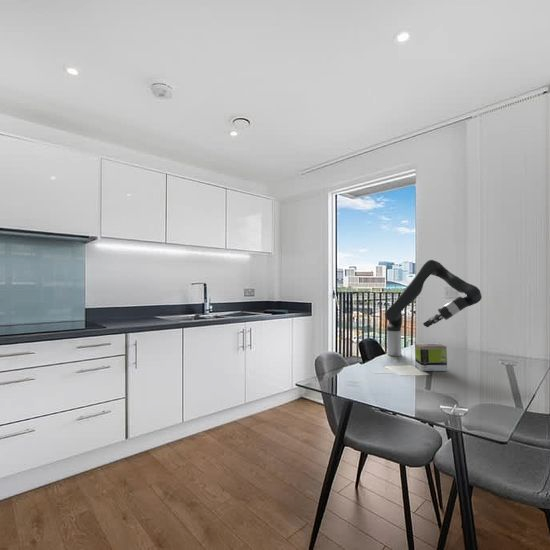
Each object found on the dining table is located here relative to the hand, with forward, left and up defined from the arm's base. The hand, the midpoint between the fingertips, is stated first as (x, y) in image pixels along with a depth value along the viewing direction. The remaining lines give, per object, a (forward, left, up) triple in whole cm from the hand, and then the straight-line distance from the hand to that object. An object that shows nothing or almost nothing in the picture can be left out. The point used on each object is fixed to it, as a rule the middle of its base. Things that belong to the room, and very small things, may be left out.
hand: (424, 325), depth 199 cm
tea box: (+2, +2, -26) cm, 26 cm away
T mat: (+2, -20, -26) cm, 33 cm away
